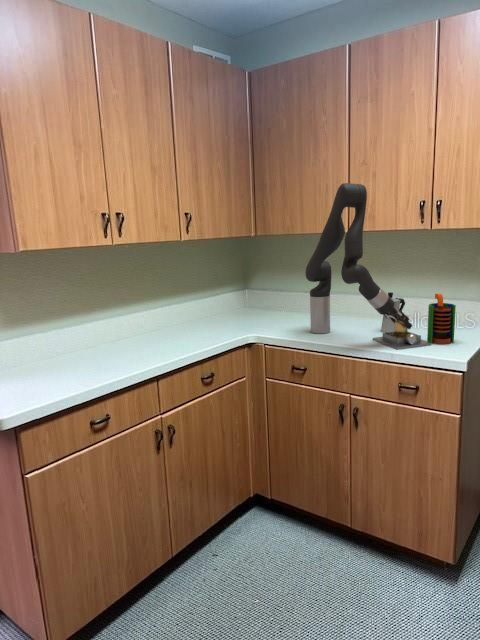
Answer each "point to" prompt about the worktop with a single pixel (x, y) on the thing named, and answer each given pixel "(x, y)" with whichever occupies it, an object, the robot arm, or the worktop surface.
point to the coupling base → (402, 341)
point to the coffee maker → (386, 323)
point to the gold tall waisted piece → (400, 329)
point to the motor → (441, 322)
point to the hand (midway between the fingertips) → (404, 325)
